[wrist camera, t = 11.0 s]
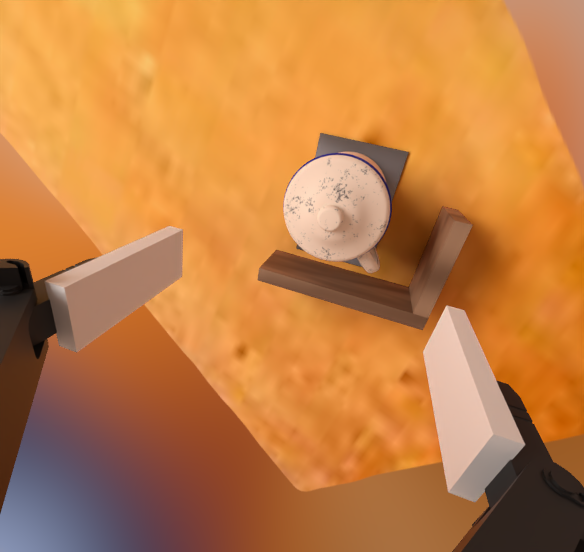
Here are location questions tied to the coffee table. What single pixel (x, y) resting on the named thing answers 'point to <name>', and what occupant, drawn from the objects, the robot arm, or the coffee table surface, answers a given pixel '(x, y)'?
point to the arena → (361, 288)
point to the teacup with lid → (339, 208)
